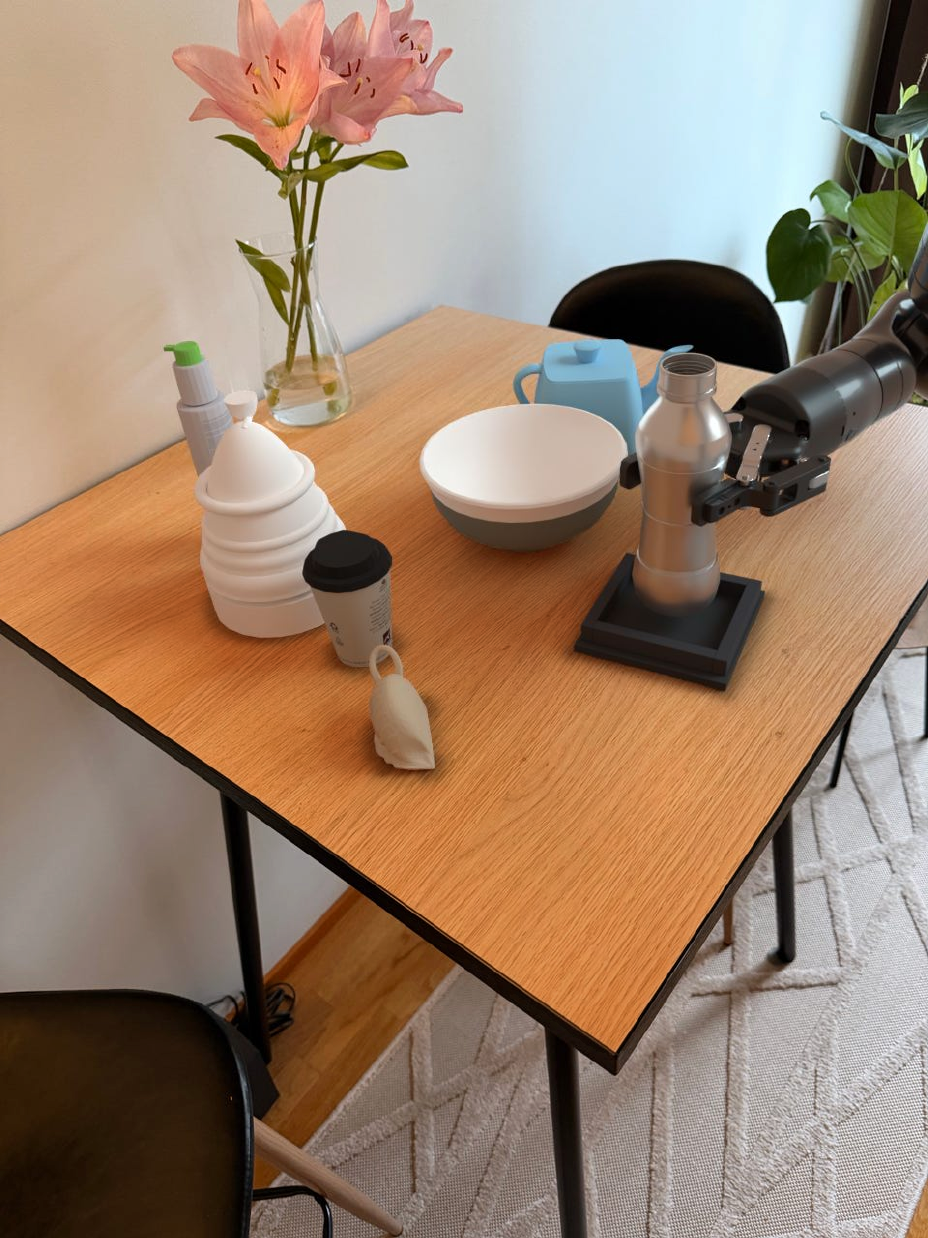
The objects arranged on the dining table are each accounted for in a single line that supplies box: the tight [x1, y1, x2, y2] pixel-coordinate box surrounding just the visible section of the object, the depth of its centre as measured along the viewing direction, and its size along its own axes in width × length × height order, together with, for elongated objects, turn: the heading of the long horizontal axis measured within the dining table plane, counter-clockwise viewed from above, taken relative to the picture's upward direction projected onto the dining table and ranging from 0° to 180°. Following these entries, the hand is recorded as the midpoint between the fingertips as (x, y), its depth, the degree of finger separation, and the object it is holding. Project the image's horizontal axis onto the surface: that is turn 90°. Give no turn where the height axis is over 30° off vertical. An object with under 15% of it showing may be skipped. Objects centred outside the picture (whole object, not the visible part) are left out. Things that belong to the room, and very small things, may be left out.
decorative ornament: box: [368, 645, 436, 770], centre depth 65 cm, size 4×8×5 cm, turn 6°
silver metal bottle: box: [632, 352, 732, 617], centre depth 66 cm, size 6×7×20 cm
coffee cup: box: [302, 529, 393, 668], centre depth 71 cm, size 7×7×10 cm
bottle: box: [163, 340, 235, 478], centre depth 82 cm, size 4×4×20 cm
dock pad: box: [573, 552, 766, 692], centre depth 73 cm, size 12×12×2 cm
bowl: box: [418, 403, 628, 553], centre depth 84 cm, size 19×19×8 cm
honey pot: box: [193, 389, 347, 639], centre depth 76 cm, size 13×13×18 cm
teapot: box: [512, 338, 694, 457], centre depth 94 cm, size 12×18×12 cm
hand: (658, 494), depth 64 cm, fingers closed on silver metal bottle, 6 cm apart
